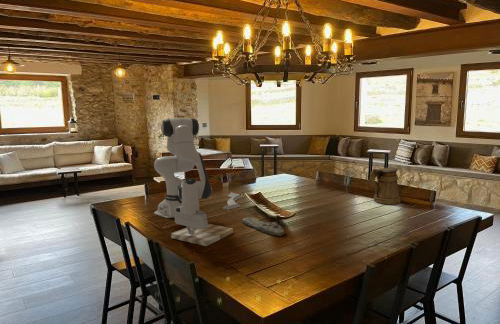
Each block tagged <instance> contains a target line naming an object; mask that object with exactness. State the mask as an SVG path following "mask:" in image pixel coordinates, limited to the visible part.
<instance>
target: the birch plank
mask: <svg viewBox="0 0 500 324" xmlns="http://www.w3.org/2000/svg"><path fill="white" fill-rule="evenodd" d="M191 230H192V229H191ZM170 237H171V239H174V240H179V241H182V242H187V243H191V244H194V245H195V244H196V245H199V246H204V247H208V246H210V245H212V244H214V243H216V242H217V241H220V240H221V239H220V235H217V234H212V233H208V232H203V231H199V230H195V234H194V235H191V234H188V230H187V228H186V227H184V228H181V229H179V230H176V231H174V232H171V233H170Z"/></svg>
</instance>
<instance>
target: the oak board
mask: <svg viewBox="0 0 500 324" xmlns="http://www.w3.org/2000/svg"><path fill="white" fill-rule="evenodd" d="M190 228H191V229H192V227H190ZM196 230H199V231H203V232H208V233H212V234H217V235H220V240H222V239H224V238H226V237H228V236H230V235H231V234H233V233H234V228H232V227H227V226H222V225H219V224H212V223H208V227H207V228H206V229H204V230H202V229H198V228H196Z"/></svg>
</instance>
